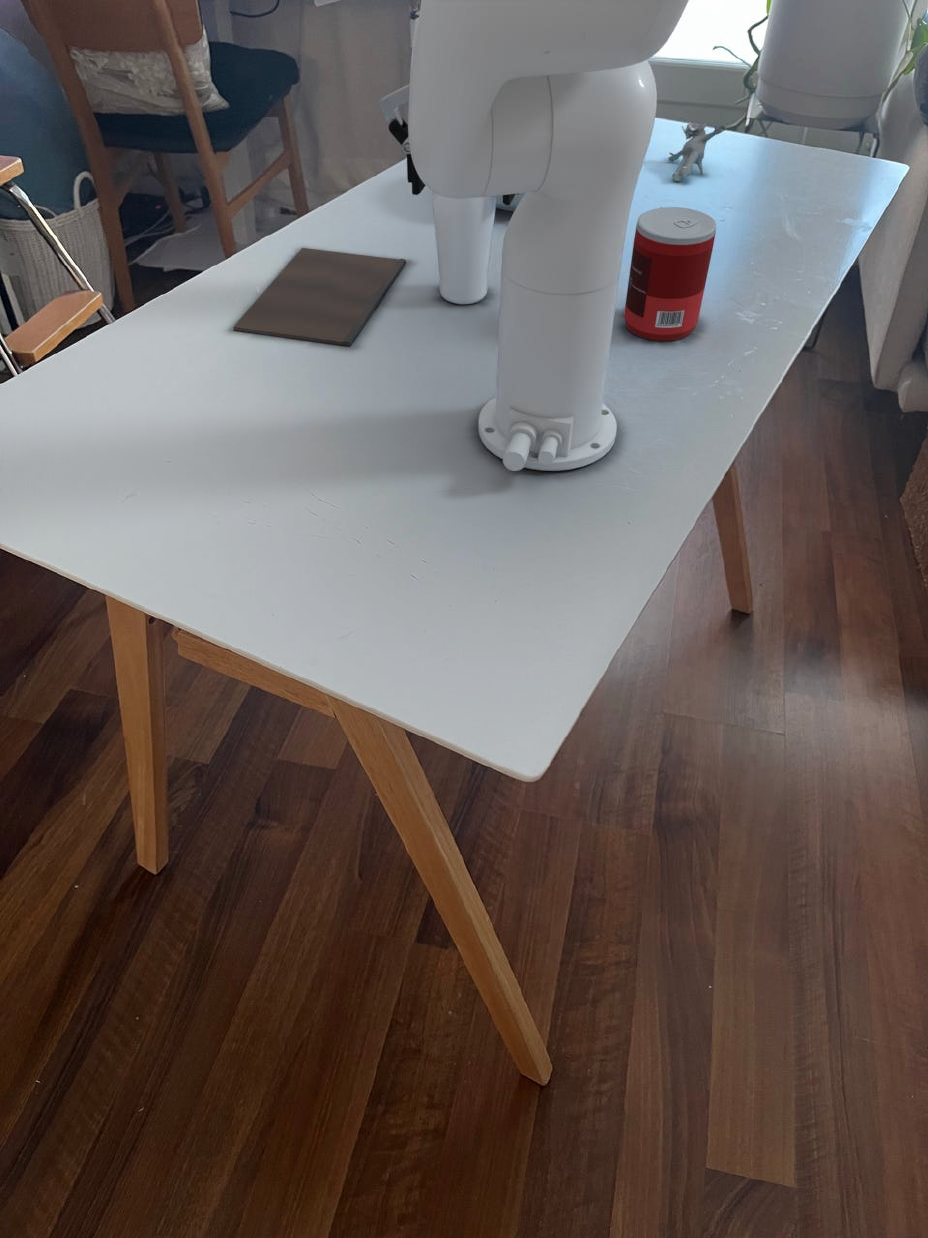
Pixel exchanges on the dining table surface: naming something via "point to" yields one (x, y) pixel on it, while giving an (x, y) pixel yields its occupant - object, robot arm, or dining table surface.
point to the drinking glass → (463, 246)
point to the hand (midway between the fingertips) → (463, 194)
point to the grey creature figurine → (693, 148)
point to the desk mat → (322, 297)
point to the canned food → (668, 272)
